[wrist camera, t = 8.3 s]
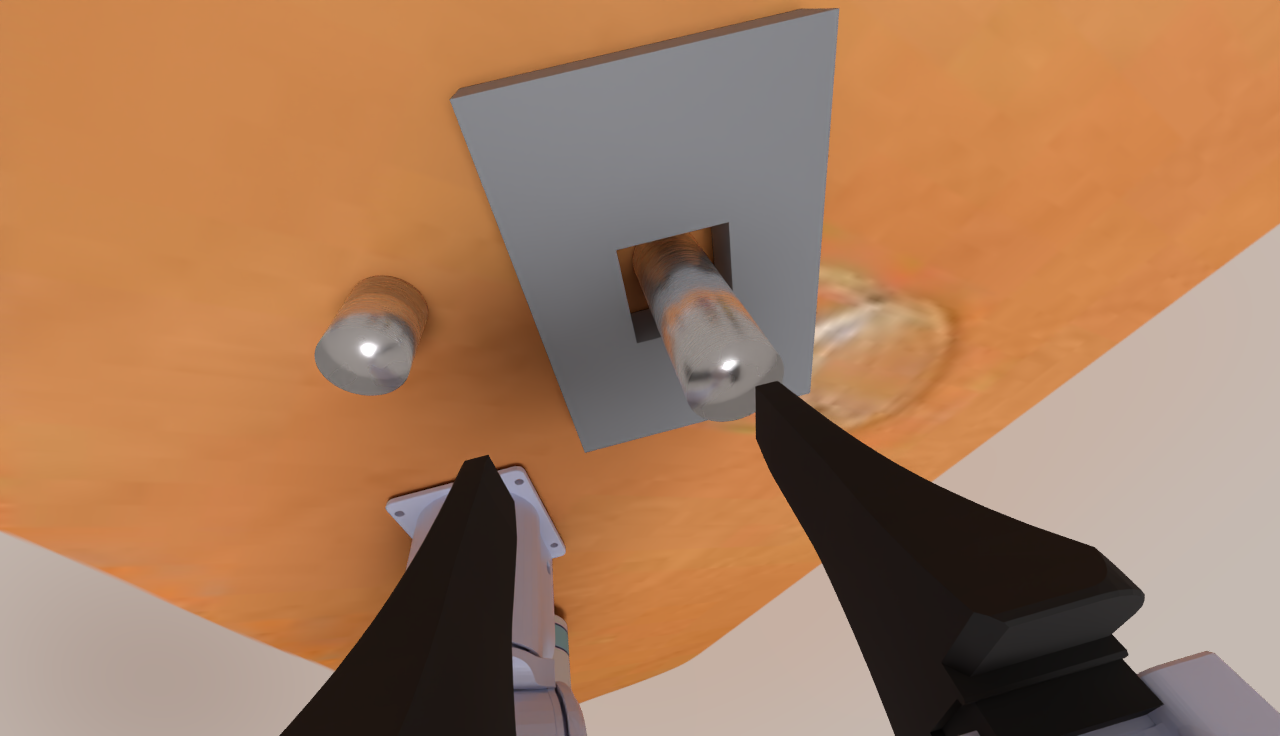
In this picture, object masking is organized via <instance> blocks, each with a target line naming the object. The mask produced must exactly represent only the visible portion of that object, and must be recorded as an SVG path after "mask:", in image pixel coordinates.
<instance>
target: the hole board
mask: <svg viewBox="0 0 1280 736" xmlns="http://www.w3.org/2000/svg"><path fill="white" fill-rule="evenodd" d="M838 17H839V8H830V9H799V10H795V11H790V12H786V13H782V14H777V15H773V16H769V17H765V18H760V19H756V20H752V21H747V22H743V23H739V24H735V25H730V26H726V27H722V28H717V29H713V30H709V31H704V32H700V33H696V34H692V35H687V36H683V37H679V38H674V39H670V40H666V41H662V42H657V43H653V44H649V45H644V46H640V47H636V48H632V49H627V50H623V51H619V52H614V53H610V54H606V55H602V56H597V57H593V58H589V59H584V60H580V61H576V62H572V63H567V64H563V65H559V66H554V67H550V68H546V69H542V70H537V71H533V72H529V73H524V74H520V75H516V76H512V77H507V78H503V79H499V80H494V81H490V82H486V83H481V84H477V85H473V86H469V87H464V88H460V89H459V90H458V91H457V92H456V93H455V94H454V95H453V96H452V97H451V99H450V102H451V104H452V107H453V110H454V112H455V115H456V117H457V120H458V123H459V125H460V128H461V130H462V133H463V136H464V138H465V141H466V144H467V146H468V149H469V151H470V154H471V157H472V159H473V162H474V164H475V167H476V170H477V172H478V175H479V177H480V180H481V183H482V185H483V188H484V190H485V193H486V196H487V198H488V201H489V204H490V206H491V209H492V211H493V214H494V217H495V219H496V222H497V224H498V227H499V230H500V232H501V235H502V237H503V240H504V243H505V245H506V248H507V251H508V253H509V256H510V258H511V261H512V264H513V266H514V269H515V271H516V274H517V277H518V279H519V282H520V284H521V287H522V290H523V292H524V295H525V297H526V300H527V303H528V305H529V308H530V311H531V313H532V316H533V318H534V321H535V324H536V326H537V329H538V331H539V334H540V337H541V339H542V342H543V344H544V347H545V350H546V352H547V355H548V358H549V360H550V363H551V365H552V368H553V371H554V373H555V376H556V378H557V381H558V384H559V386H560V389H561V391H562V394H563V397H564V399H565V402H566V404H567V407H568V410H569V412H570V415H571V418H572V420H573V423H574V425H575V428H576V431H577V433H578V436H579V438H580V441H581V444H582V446H583V449H584V451H585V453H586V452H590V451H593V450H597V449H601V448H605V447H608V446H612V445H616V444H620V443H623V442H627V441H631V440H635V439H639V438H642V437H646V436H650V435H654V434H657V433H661V432H665V431H669V430H672V429H676V428H680V427H684V426H688V425H691V424H695V423H699V422H703V421H706V420H707V419H705V418H702V417H700V416H699V415H697V414H696V413H695V412H694V411H693V410H692V409H691V408H690V406H689V404H688V402H687V399H686V397H685V394H684V392H683V389H682V387H681V384H680V382H679V380H678V377H677V375H676V372H675V370H674V367H673V365H672V362H671V360H670V357H669V355H668V352H667V350H666V348H665V345H664V343H663V340H662V338H661V335H660V333H659V330H658V328H657V325H656V323H655V320H654V318H653V316H652V313H651V311H650V309H646V310H642V311H638V312H635V313H631V314H630V310H629V306H628V301H627V297H626V292H625V288H624V283H623V279H622V274H621V270H620V266H619V261H618V257H617V252H616V250H619V249H623V248H627V247H631V246H635V245H639V244H643V243H647V242H651V241H655V240H659V239H663V238H667V237H671V236H675V235H679V234H683V233H687V232H691V231H695V230H699V229H703V228H707V227H711V232H712V244H713V256H714V266H715V268H716V269H717V270H718V272H719V273H720V275H721V276H722V277H723V279H724V280H725V281H726V283H727V284H728V286H729V287H730V288H731V290H732V291H733V292H734V294H735V295H736V297H737V298H738V299H739V301H740V302H741V303H742V305H743V306H744V307H745V309H746V310H747V312H748V313H749V314H750V316H751V317H752V318H753V320H754V321H755V323H756V324H757V325H758V327H759V328H760V329H761V331H762V332H763V334H764V335H765V336H766V338H767V339H768V340H769V342H770V343H771V344H772V346H773V347H774V349H775V350H776V351H777V353H778V354H779V355H780V357H781V359H782V362H783V365H784V376H783V380H782V384H783V385H784V386H786V387H787V388H788V389H789V390H791V391H792V392H793V393H794V394H796V395H797V396H800V395H804V394H808V393H810V386H811V372H812V359H813V346H814V333H815V320H816V307H817V293H818V280H819V267H820V254H821V241H822V228H823V215H824V201H825V188H826V175H827V162H828V149H829V136H830V122H831V109H832V96H833V83H834V70H835V57H836V43H837V30H838Z"/></svg>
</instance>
